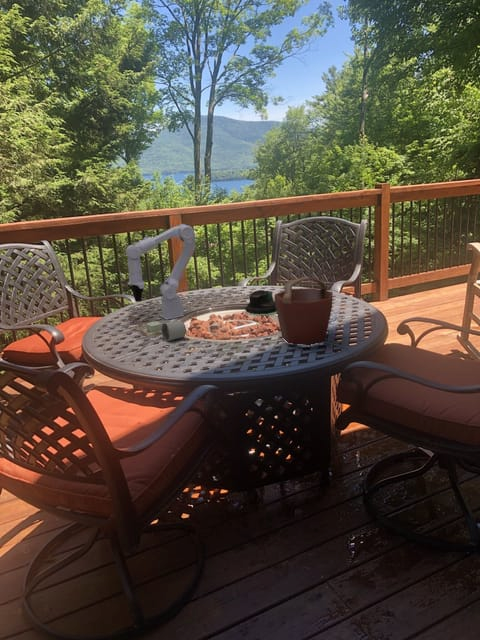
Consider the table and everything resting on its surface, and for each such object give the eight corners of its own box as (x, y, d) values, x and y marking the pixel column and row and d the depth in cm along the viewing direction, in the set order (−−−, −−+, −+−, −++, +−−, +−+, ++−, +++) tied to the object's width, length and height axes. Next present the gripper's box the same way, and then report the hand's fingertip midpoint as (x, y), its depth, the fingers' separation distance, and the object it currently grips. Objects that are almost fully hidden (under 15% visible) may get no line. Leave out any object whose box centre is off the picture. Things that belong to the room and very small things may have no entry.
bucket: (292, 354, 177) (292, 288, 170) (262, 338, 196) (260, 277, 188) (345, 342, 187) (347, 279, 180) (312, 327, 206) (312, 269, 199)
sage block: (157, 329, 212) (157, 321, 211) (162, 332, 208) (162, 323, 207) (147, 332, 209) (146, 323, 208) (152, 335, 205) (151, 326, 204)
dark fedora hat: (246, 304, 247) (246, 286, 245) (285, 305, 243) (284, 287, 240) (237, 315, 229) (236, 296, 226) (279, 316, 224) (278, 297, 222)
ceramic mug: (188, 338, 198) (186, 320, 196) (170, 343, 194) (168, 325, 192) (175, 333, 207) (174, 315, 204) (158, 337, 202) (156, 319, 200)
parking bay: (159, 325, 217) (159, 323, 216) (169, 332, 207) (169, 329, 207) (137, 330, 212) (137, 327, 211) (147, 337, 202) (147, 334, 202)
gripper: (121, 270, 223) (124, 299, 227) (132, 275, 211) (135, 305, 215) (136, 268, 226) (139, 296, 230) (147, 273, 214) (150, 303, 218)
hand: (138, 301), depth 223 cm, fingers closed
